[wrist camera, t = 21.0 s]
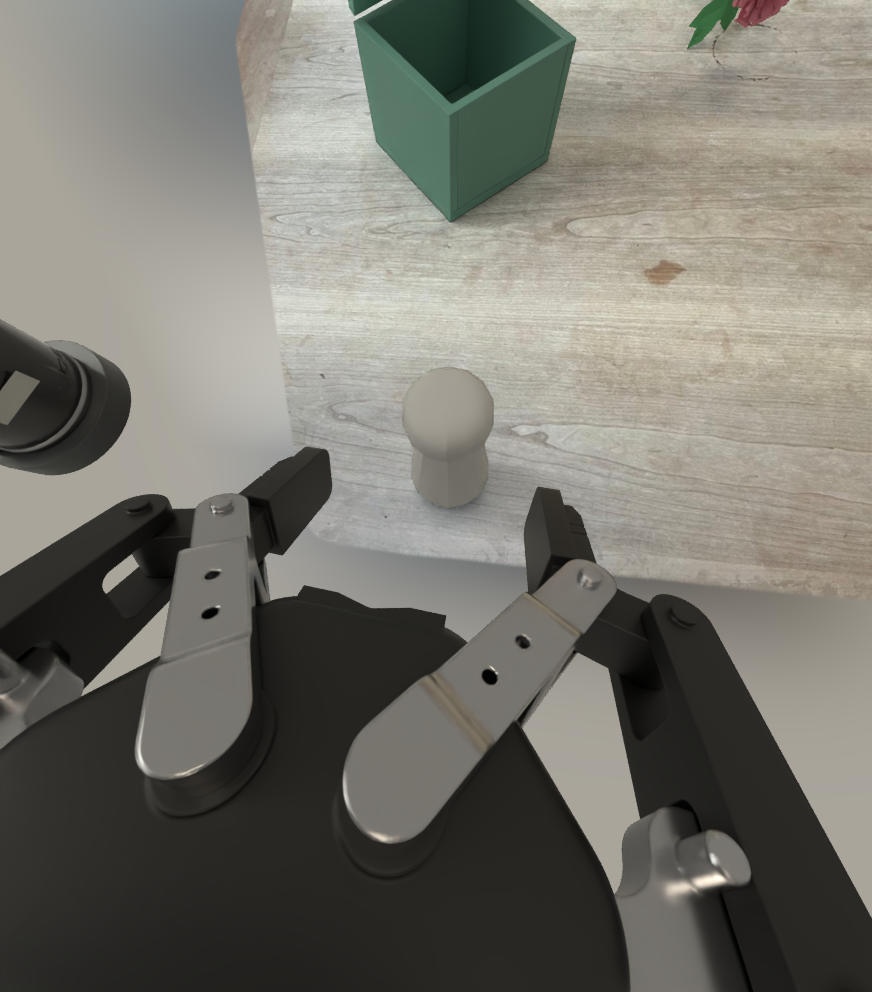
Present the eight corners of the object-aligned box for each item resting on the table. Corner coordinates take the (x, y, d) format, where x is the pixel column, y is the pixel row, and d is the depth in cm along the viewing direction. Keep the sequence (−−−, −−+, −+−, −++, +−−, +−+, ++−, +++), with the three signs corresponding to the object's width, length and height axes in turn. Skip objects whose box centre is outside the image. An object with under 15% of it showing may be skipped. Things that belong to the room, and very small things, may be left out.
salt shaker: (401, 481, 27) (352, 410, 14) (445, 430, 27) (438, 319, 15) (455, 526, 26) (456, 494, 13) (499, 473, 26) (542, 393, 14)
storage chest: (547, 160, 32) (576, 37, 25) (450, 222, 32) (449, 115, 24) (467, 86, 35) (471, -46, 27) (375, 141, 34) (353, 21, 27)
